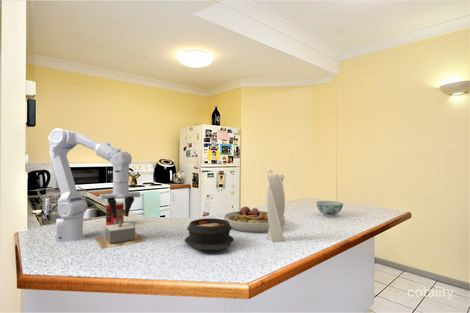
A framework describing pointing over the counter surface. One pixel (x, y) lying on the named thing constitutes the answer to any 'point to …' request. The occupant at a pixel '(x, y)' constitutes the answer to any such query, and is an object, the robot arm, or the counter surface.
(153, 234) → the counter surface
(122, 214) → the plunger
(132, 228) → the grey rectangular block
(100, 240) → the cork trivet
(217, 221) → the casserole
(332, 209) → the chinaware
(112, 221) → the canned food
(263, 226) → the bowl
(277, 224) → the skyscraper
